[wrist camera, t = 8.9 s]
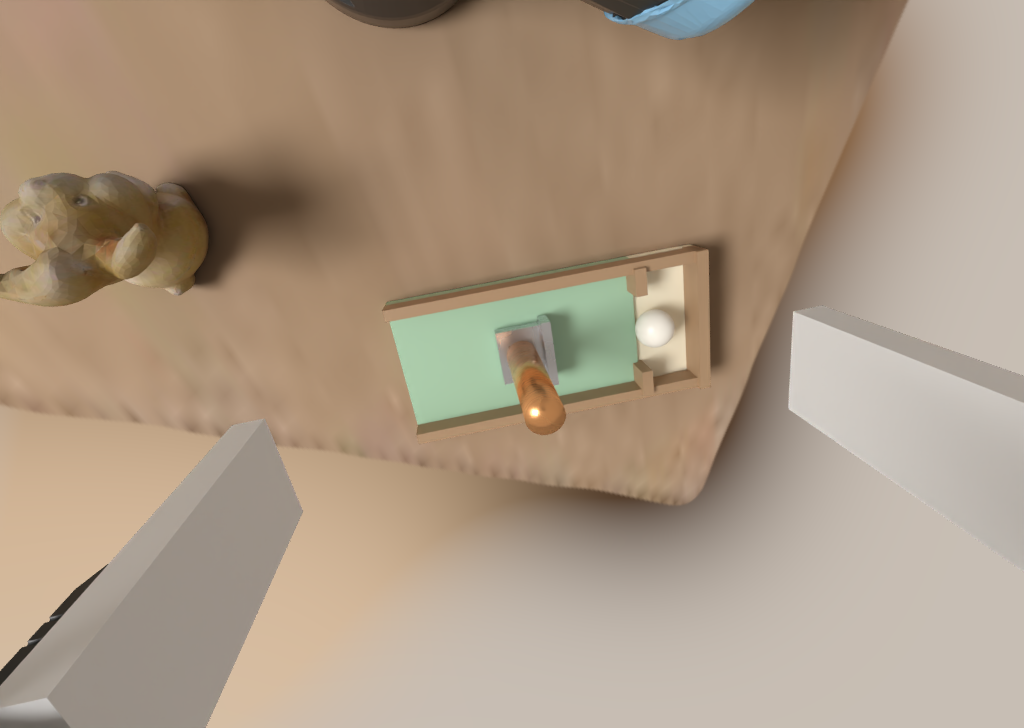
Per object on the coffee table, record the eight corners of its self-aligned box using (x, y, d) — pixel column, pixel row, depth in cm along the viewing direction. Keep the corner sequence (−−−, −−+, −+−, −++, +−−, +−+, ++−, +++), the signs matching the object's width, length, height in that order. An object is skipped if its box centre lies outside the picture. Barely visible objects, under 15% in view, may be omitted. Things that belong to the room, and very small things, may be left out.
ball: (658, 301, 46) (626, 310, 45) (682, 309, 43) (647, 319, 42) (660, 336, 47) (629, 345, 46) (683, 346, 44) (650, 356, 43)
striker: (493, 324, 44) (508, 382, 31) (545, 314, 44) (580, 367, 32) (504, 384, 46) (523, 460, 34) (554, 374, 46) (590, 446, 34)
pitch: (386, 302, 43) (381, 312, 40) (688, 244, 44) (708, 249, 41) (421, 427, 48) (418, 447, 45) (692, 372, 49) (710, 387, 46)
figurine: (157, 135, 37) (-22, 111, 23) (255, 218, 40) (148, 241, 26) (86, 229, 39) (-121, 259, 25) (184, 303, 41) (48, 366, 27)
